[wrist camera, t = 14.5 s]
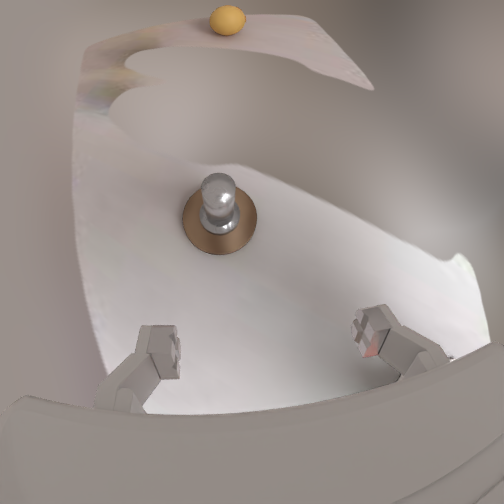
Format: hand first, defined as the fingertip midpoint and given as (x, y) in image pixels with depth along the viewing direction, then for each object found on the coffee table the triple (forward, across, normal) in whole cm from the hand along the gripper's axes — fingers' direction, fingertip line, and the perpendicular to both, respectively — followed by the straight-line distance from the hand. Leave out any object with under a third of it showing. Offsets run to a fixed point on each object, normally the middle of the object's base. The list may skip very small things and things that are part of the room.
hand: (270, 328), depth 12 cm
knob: (+33, +2, +9) cm, 35 cm away
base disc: (+34, +2, +10) cm, 36 cm away
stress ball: (+76, -1, -32) cm, 83 cm away
